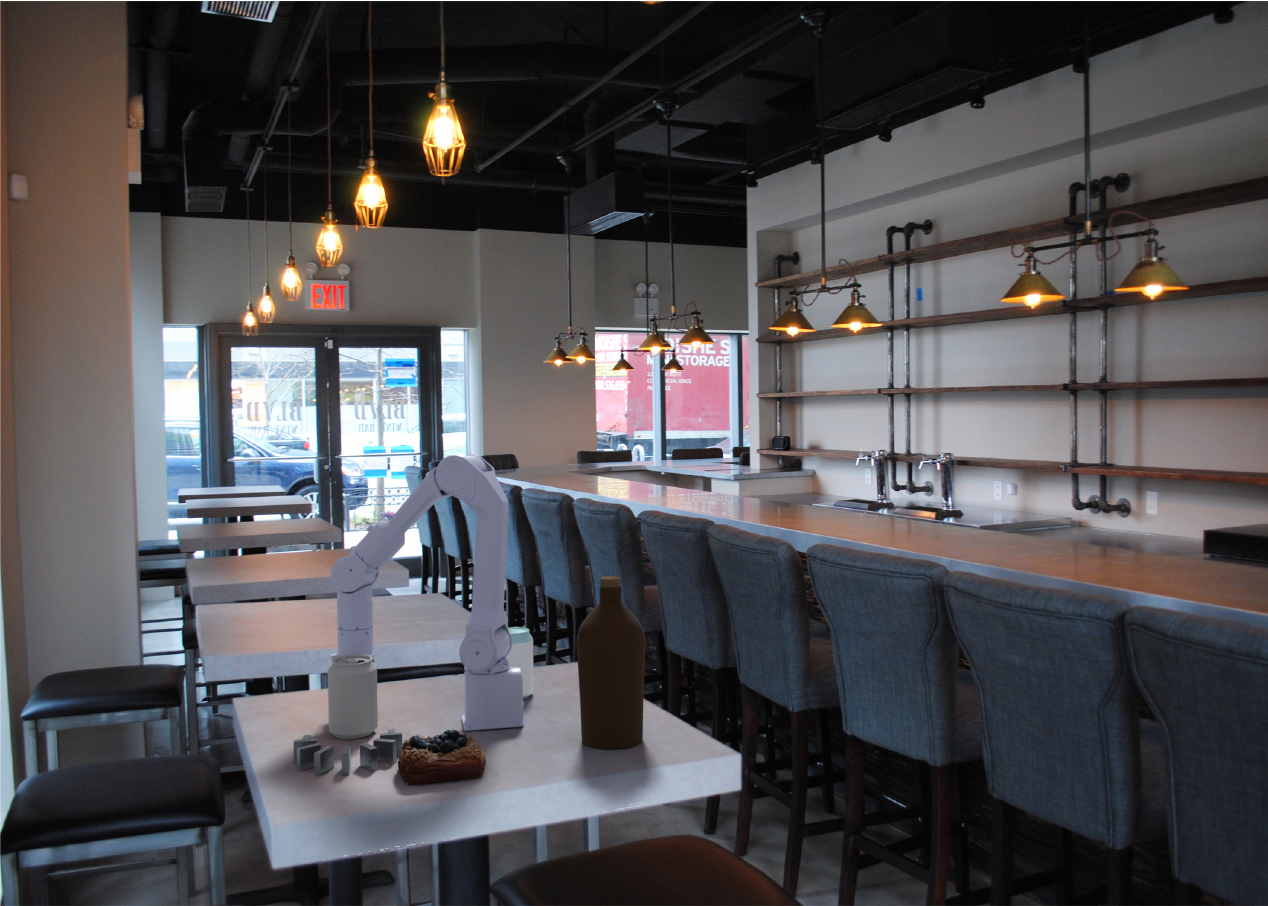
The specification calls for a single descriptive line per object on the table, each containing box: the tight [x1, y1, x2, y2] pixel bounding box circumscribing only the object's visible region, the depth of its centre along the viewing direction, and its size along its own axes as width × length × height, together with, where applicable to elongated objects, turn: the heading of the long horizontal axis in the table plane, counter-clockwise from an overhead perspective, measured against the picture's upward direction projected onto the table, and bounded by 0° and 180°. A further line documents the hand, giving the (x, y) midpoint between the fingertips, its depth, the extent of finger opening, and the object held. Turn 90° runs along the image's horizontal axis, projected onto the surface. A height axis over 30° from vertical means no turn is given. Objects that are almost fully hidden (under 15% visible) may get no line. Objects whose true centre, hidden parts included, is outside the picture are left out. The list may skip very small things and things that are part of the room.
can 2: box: [506, 626, 535, 700], centre depth 173 cm, size 7×7×12 cm
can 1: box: [327, 654, 379, 740], centre depth 152 cm, size 8×8×12 cm
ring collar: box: [293, 728, 403, 776], centre depth 138 cm, size 15×10×3 cm
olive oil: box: [576, 575, 647, 750], centre depth 147 cm, size 11×11×25 cm
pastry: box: [397, 729, 487, 787], centre depth 134 cm, size 11×12×6 cm
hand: (356, 708), depth 160 cm, fingers open, 5 cm apart
